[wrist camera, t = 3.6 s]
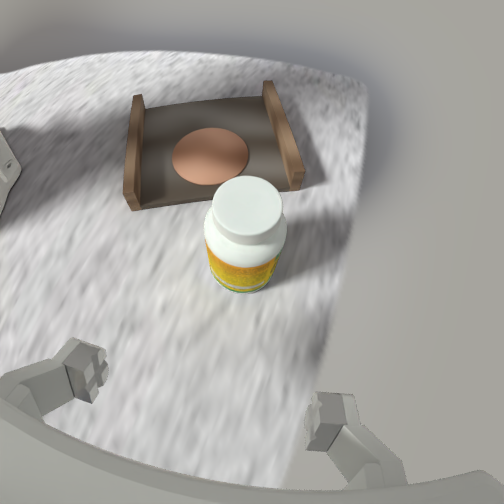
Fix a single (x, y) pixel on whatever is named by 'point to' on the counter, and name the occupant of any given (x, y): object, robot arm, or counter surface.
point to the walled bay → (207, 148)
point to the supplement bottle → (245, 233)
